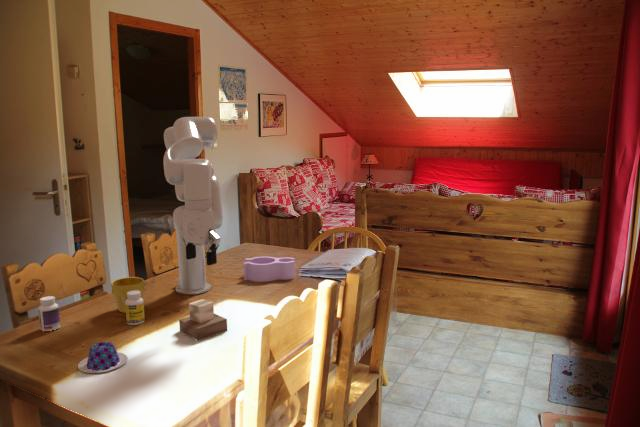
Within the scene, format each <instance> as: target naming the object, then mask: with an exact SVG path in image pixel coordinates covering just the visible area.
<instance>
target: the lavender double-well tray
mask: <svg viewBox="0 0 640 427" xmlns="http://www.w3.org/2000/svg"><path fill="white" fill-rule="evenodd" d="M244 261H245V262H243V263H242V265H243V266H242V268H243V280H244V281H252V282H259V283H263V282H271V281H276V280H283V281H284V280H285V281H286V280H292V279H295V278H296V264H295V263H296V259H295V258H294V257H289V256H288V257H287V256H286V257H274V256H256V257H251V258H247V257H246V258H244Z"/></svg>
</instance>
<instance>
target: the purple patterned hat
mask: <svg viewBox="0 0 640 427" xmlns="http://www.w3.org/2000/svg"><path fill="white" fill-rule="evenodd" d="M127 361H128V355H127V354H126V353H123V352H119V351H117V348H116V346H115V344H114V343H112V342H110V341H101V342H96V343H94V344H92V345H91V346H90V347H89V350H88V356H87V357H85V358H83V359H82V360H81V361H79V363H78V364H77V368H78V370H79V371H81V372H84V373H89V374H96V373H104V372H109V371H112V370H115V369H118V368H120V367H122V366H123V365H124V364H126V362H127Z"/></svg>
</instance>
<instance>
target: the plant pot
mask: <svg viewBox="0 0 640 427" xmlns="http://www.w3.org/2000/svg"><path fill="white" fill-rule="evenodd" d="M110 290H111V294H112V295H114V299H115V301H116V302H115V303H116V306H117V309H118V311H119V312H120V313H123V314H126V307H125V301H126V300H127V299H128V298H127V292H129V291H135V290H137V291H140V292H141V296H140V297H141V298H142V296H143V292H144V291H145V280H144V278H141V277H138V276H128V277H121V278H117V279H114V280H113V281H111V283H110Z"/></svg>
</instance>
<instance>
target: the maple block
mask: <svg viewBox="0 0 640 427" xmlns="http://www.w3.org/2000/svg"><path fill="white" fill-rule="evenodd" d="M188 306H189V307H188V311H189V317H190V320H193V321H195V322H198V323H203V322H205V321H208V320H211V319H213V318H214V314H215V312H214V310H215V309H214V302H213V301H210V300H207V299H204V298H200V299H199V300H195V301H192V302H188Z"/></svg>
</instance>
